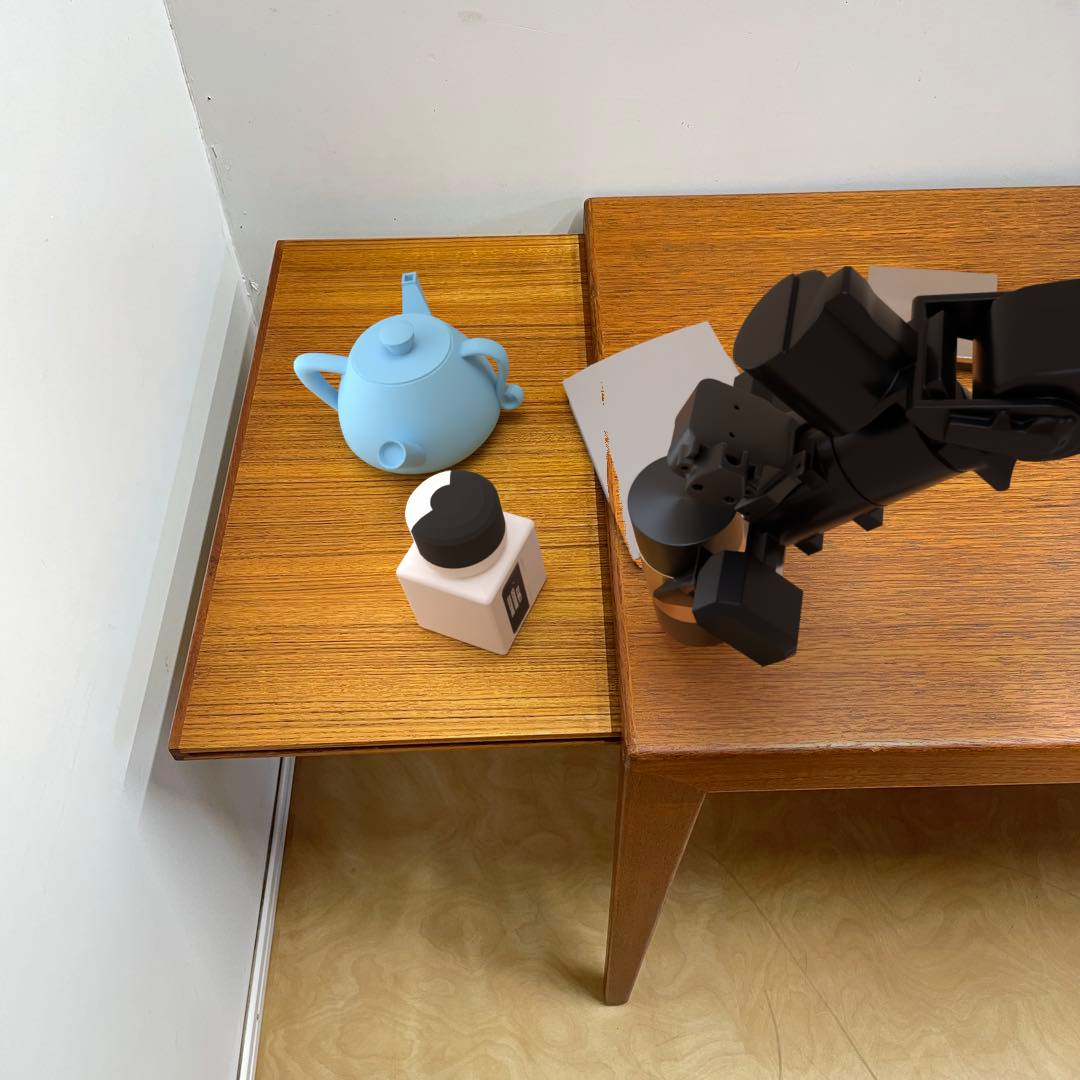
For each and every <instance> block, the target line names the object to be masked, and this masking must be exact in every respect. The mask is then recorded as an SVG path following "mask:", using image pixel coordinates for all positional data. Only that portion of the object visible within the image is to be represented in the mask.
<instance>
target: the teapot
mask: <svg viewBox="0 0 1080 1080" xmlns="http://www.w3.org/2000/svg"><path fill="white" fill-rule="evenodd" d="M400 283H401V293H402V294H401V295H402V296H401V297H402V298H401V299H402V300H401V301H402V302H401V304H402V306H401V307H402V313H401V314H396V315H391V316H389V317H386V318H384V319H381V320H379V321H378V322H375V323H374V324H372V325H371V326H369V327H368V328H367V329H366V330H365V331H363V332H362V333H361V334H360V336H359V337H358V338H357V339H356V341H355V342H354V344H353V346H352V347H351V350H350V352H349V354H348V356H344V355H338V354H333V353H323V352H307V353H303V354H300V355H298V356H297V357H296V358H295V359H294V361H293V370H294V373H295V374H296V375H295V376H297V378H298V380H299V381H300V382H301V383H302V384H303V385H304V386H305V387H306V388H307V389H308V390H309V391H310V392H311V393H313V394H314V395H315V396H316V397H318V398H319V399H320V400H321V401H323V402H324V403H325V404H327V405H328V406H329V407H331V408H332V409H334V410H335V411H336V412H337V413H338V420H339V426H340V429H341V433H342V436H343V438H344V440H345V442H346V445H347V446H348V447H349V448H350V450H351V451H352V452H353V453H354V454H355V456H357V457H358V458H359V459H360V460H362V462H365V463H366V464H368V465H369V466H372V467H373V468H376V469H378V470H382V471H385V472H389V473H393V474H394V473H395V474H401V475H421V474H431V473H435V472H439V471H442V470H445V469H448V468H451V467H452V466H454V465H457V464H459V463H460V462H462V461H463V460H466V458H468V457H470V456H471V455H472V454H473V453H475V452H476V451H477V450H478V449H479V448H481V446H482V445H483V444H484V443H485V442H486V440H487V439H488V438H489V437H490V436H491V434H492V433H493V431H494V429H495V428H496V426H497V423H498V422H499V417H500V415H501V411H502V410H504V411H513V410H516V409H518V408H519V407H520V406H522V404H523V402H524V400H525V393H524V390H523V388H522V387H521V386H520V385H518V384H514V383H510V384H508V378H509V372H510V370H509V369H510V360H509V356H508V353H507V351H506V349H505V348H504V347H503V345H502V344H500V343H499V342H497V341H495V340H494V339H490V338H486V337H473V338H469V337H468V336H467V335H465V333H463V332H461V330H458V329H457V328H455V327H454V326H453V325H451V324H449V323H448V322H446V321H444V320H442V319H439V318H438V317H435V316H433V313H432V311H431V308H430V305H429V304H428V301H427V298H426V295H425V292H424V291H423V288H422V286H421V282H420V280H419V277H418V274H417V271H411V272H405V273H401V282H400ZM487 357H489V358H491V359H493V360H494V361H495V362H496V364H497V374H496V372H495V370H494V367H493V366H492V364H491V363H490V361H489V359H488V358H487ZM321 372H327V373H336V374H340V375H341V376H340V381H339V383H338V384H339V385H338V390H337V389H336V388H334V386H333V385H332V384H331V383H329V381H327V379H325V377H324V376H323V375H322V374H321Z"/></svg>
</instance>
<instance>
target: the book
mask: <svg viewBox="0 0 1080 1080" xmlns="http://www.w3.org/2000/svg"><path fill="white" fill-rule="evenodd" d="M739 374H741V373H740V371H739V370H738V368H737V365H736V364H735V362H734V360H733V358H732V357H730V356H729V355H728V354H727V353H726V350H725V349H724V346H723V345H722V344H721V342H720V340H719V338H718V337H717V335H716V333H715V331H714V329H713V327H712V326H711V324H710V322H709V320H706V321H703V322H699V323H696V324H693V325H690V326H689V325H688V326H686V327H683V328H679V329H677V330H674V331H671V332H668V333H666V334H663V335H660V336H657V337H654V338H652V339H649V340H646V341H644V342H642V343H639V344H636V345H634V346H631V347H628V348H626V349H624V350H623V349H622V350H621V351H618V352H616V353H614V354H612V355H610V356H608V357H606V358H603V359H601V360H599V361H598V362H595V363H592V364H591V365H588V366H586V367H585V368H584V369H581V370H579V371H578V372H576V373H574V374H573V375H571V376H569V377H567V378H565V379H563V380H562V381H561V384H562V386H563V389H564V391H565V394H566V397H567V399H568V401H569V402H568V403H569V404H568V406H569V407H570V410H571V412H572V416H573V418H574V420H575V423H576V425H577V427H578V431H579V432H580V435H581V438H582V440H583V443H584V445H585V447H586V450H587V453H588V456H589V457H590V461H591V462H592V465H593V468H594V470H595V472H596V475H597V477H598V480H599V483H600V486H601V488H602V490H603V492H604V496H605V497H606V500H607V502H608V504H609V499H608V498H609V493H608V486H607V485H608V484H607V459H606V458H607V457H606V456H607V455H606V454H607V452H608V451H607V450H608V448H609V449H610V450H609V451H610V453H609V454H610V455H611V458H612V461H613V462H614V463H612V464H613V465H614V466H613V467H614V468H615V469H614V470H615V471H616V474H617V477H618V478H617V479H618V480H619V481H618V482H619V483H618V484H619V488H618V489H620V490H618V491H619V494H620V495H619V496H621V497H619V498H620V499H619V500H620V501H619V502H620V503H622V504H620V505H622V506H623V507H622V506H620V507H622V508H623V509H622V510H623V511H622V512H623V513H622V514H623V515H622V516H623V517H622V518H623V521H625V522H623V523H625V524H626V525H625V524H624V525H625V526H626V527H625V526H624V527H625V528H626V529H625V528H624V529H625V530H626V536H625V537H626V538H625V539H627V540H626V541H627V542H628V543H627V544H629V545H628V546H629V548H630V549H629V550H630V553H631V555H632V558H633V560H638V559H640V556H639V552H638V548H637V545H636V538H635V534H634V531H633V527H632V523H631V520H630V516H629V512H628V506H627V499H628V493H629V490H630V487H631V485H632V483H633V481H634V480H635V478H636V477H637V475H638V474H639V473H640V472H641V471H642V470H643V469H644V468H645V467H646V466H648V465H649V464H650V463H652V462H654V461H655V460H657V459H659V458H662V457H664V456H667V454H668V450H669V448H670V445H671V440H672V436H673V431H674V427H675V424H674V423H675V419H676V416H677V414H678V413H679V411H680V410H681V409H682V407H683V406H684V404H685V403H686V401H687V400H688V398H689V397H690V395H691V394H692V392H693V391H694V389H695V388H696V386H697V385H698V383H699V382H700V381H701V380H703V379H706V378H712V379H716V380H719V381H721V382H723V383H726V384H728V385H731V386H733V384H734V378H735V377H736V376H738V375H739ZM601 382H602V383H601ZM602 386H603V389H602ZM602 390H603V391H604V392H601V391H602ZM602 393H603V394H604V396H603V397H604V401H602ZM603 403H604V405H603ZM604 431H605V432H606V431H607V432H608V433H607V432H606V434H607V435H608V436H607V435H606V434H605V432H604ZM605 435H606V436H607V437H608V438H609V440H608V441H609V442H608V443H609V444H608V443H607V442H606V441H605V438H607V437H606V436H605ZM605 442H606V443H605ZM606 444H607V445H608V446H609V447H608V446H607V445H606ZM606 446H607V447H608V448H607V447H606ZM621 501H622V502H621ZM742 521H743V527H744V537H745V546H746V540H747V533H748V527H749V523H748V522H746V521H745V520H744V519H743V518H742ZM624 533H625V532H624ZM624 535H625V534H624ZM633 560H632V561H633ZM640 563H641V562H640ZM641 568H643V567H641ZM641 570H642V571H644V570H643V569H641Z"/></svg>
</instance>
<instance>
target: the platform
mask: <svg viewBox="0 0 1080 1080" xmlns="http://www.w3.org/2000/svg"><path fill="white" fill-rule="evenodd" d="M998 279H999V278H998V274H997V273H983V272H982V273H981V272H967V271H956V270H955V271H953V270H939V269H924V268H912V267H911V268H910V267H895V266H894V267H893V266H883V265H882V266H880V265H869V266H868V272H867V279H866V281H867V282H868V283H869V285H870V287H871V288H872V290H873V292H874V293H875V294H876V295H877V296H878V297H879V298H880V299H881V300H882V301H883V302H884V303H885V304H887V305H888V306H889V307H890V308H891V309H892V310H893V311H894V312H895V313H896V314H897V315H898V316H900V317H901V318H902V319H903V320H904V321H905V322H906V323H907V322H908V321H910V320H911V309H912V300H913V299H914V298H915V297H917V296H920V295H940V294H960V293H980V292H998ZM972 352H973V341H970V340H965V339H960V338H957V371H966V372H972Z"/></svg>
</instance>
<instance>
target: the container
mask: <svg viewBox="0 0 1080 1080" xmlns="http://www.w3.org/2000/svg"><path fill="white" fill-rule="evenodd" d="M497 490H498V489H497V488H496V486H495V485H494V483H493V482H492V481H491V480H489V478H487V477H485V476H484V475H482V474H481V473H480V474H479V473H477V472H475V471H470V470H464V469H452V470H445V471H442V472H438V473H436V474H434V475H432V476H430V477H429V478H427V479H426V480H424V481H422V482H421V484H419V485H418V486H417V488H416V489H414V490H413V492H412V493H411V495H410V496H409V498H408V500H407V502H406V506H405V510H404V511H405V512H404V514H405V515H404V516H405V517H404V518H405V522H406V525H407V527H408V530H409V533H410V535H411V538H412V540H413V543H412V544H411V546H410V547H409V549H408V550H407V552H406V554H405V555H404V556H403V558H402V560H401V562H400V564H399V565H398V567H397V568H396V572H395V574H396V577H397V579H398V581H399V583H400V586H401V588H402V590H403V592H404V594H405V597H406V599H407V601H408V603H409V606H410V608H411V610H412V613H413V615H414V618H415V619H416V622H417V623H418V624H417V625H418V626H420V627H421V628H422V629H425V630H427V631H430V632H434V633H436V634H439V635H442V636H446V637H448V638H450V639H451V638H452V639H454V640H457V641H459V642H463V643H466V644H468V645H472V646H474V647H477V648H480V649H483V650H486V651H488V652H492V653H494V654H497V655H500V656H505V655H507V654H508V653H509V651H510V649H511V647H512V645H513V643H514V641H515V639H516V637H517V635H518V634H519V631H520V630H521V628H522V627H523V624H524V622H525V620H526V619H527V617H528V615H529V613H530V611H531V609H532V607H533V605H534V603H535V602H536V599H537V598H538V596H539V595H540V592H541V590H542V588H543V586H544V584H545V582H546V580H547V572H546V569H545V564H544V560H543V556H542V550H541V545H540V542H539V537H538V534H537V529H536V524H535V522H534V520H533V519H531V518H528V517H524V516H521V515H517V514H514V513H510V512H508V511H504V510H503V507H502V503H501V500H500V495H499V492H498V491H497Z"/></svg>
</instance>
